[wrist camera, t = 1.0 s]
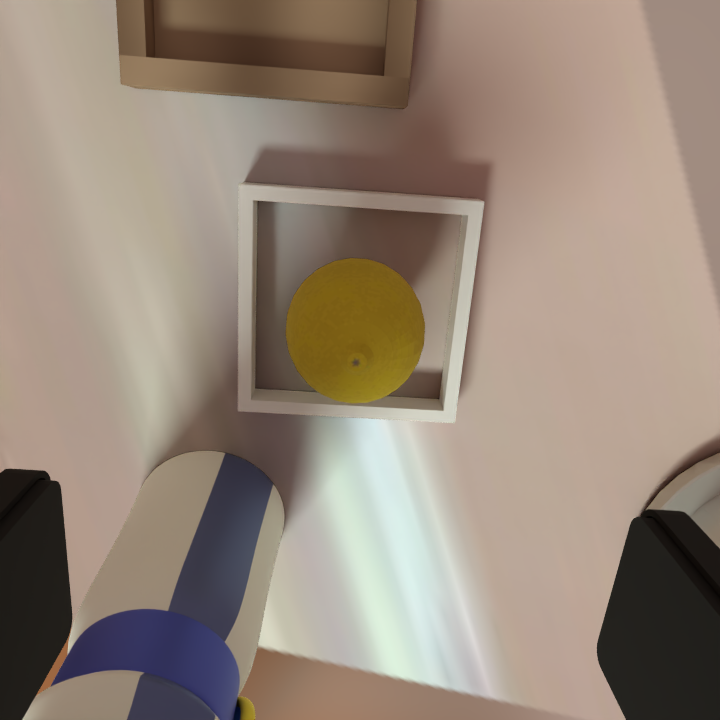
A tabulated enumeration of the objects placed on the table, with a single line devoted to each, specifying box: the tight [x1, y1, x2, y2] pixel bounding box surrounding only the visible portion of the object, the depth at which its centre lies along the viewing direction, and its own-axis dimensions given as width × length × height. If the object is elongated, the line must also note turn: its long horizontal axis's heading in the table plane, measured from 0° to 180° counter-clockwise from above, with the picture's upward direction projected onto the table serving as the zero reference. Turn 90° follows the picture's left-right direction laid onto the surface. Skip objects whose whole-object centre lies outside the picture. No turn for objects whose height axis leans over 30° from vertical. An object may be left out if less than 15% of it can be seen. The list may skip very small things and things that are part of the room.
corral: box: [238, 182, 484, 423], centre depth 27 cm, size 10×10×1 cm
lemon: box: [286, 258, 425, 404], centre depth 24 cm, size 6×6×8 cm
